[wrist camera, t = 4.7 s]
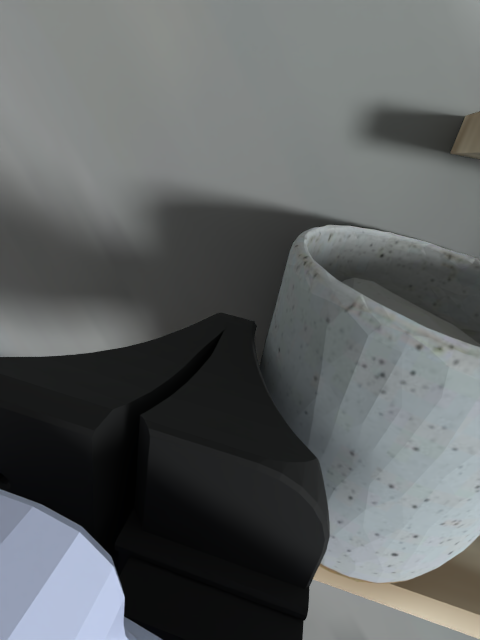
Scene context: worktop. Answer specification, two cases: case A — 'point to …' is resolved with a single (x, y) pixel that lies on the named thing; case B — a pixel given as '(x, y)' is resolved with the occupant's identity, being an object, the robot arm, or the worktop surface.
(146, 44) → the worktop surface
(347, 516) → the ceramic mug
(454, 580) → the brown wooden pieces
